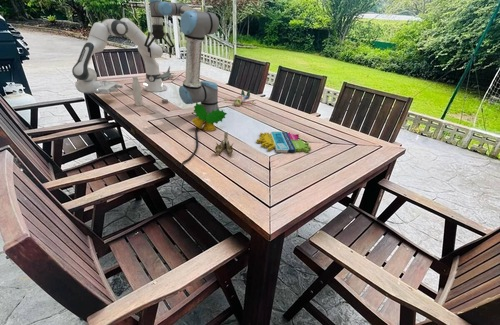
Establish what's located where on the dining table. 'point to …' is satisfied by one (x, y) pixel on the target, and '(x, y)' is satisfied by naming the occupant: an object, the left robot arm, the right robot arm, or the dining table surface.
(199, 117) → the ornament
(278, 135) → the packaged gardening gloves
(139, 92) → the bottle
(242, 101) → the toy
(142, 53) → the left robot arm
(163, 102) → the cap
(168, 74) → the airplane
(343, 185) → the dining table surface
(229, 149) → the jawbone
